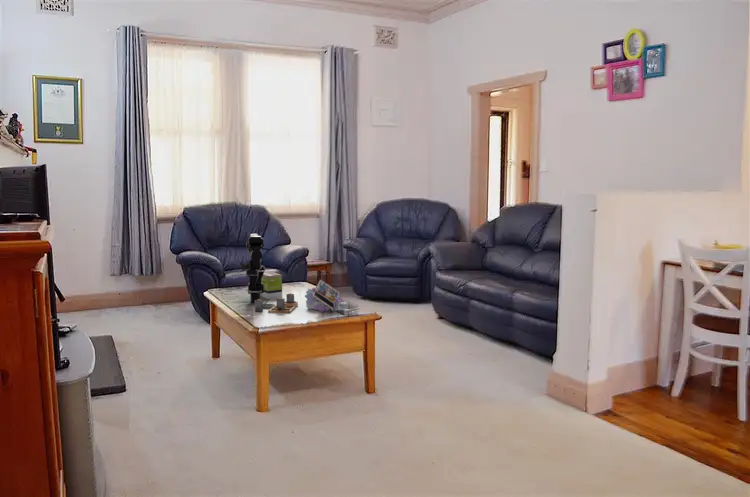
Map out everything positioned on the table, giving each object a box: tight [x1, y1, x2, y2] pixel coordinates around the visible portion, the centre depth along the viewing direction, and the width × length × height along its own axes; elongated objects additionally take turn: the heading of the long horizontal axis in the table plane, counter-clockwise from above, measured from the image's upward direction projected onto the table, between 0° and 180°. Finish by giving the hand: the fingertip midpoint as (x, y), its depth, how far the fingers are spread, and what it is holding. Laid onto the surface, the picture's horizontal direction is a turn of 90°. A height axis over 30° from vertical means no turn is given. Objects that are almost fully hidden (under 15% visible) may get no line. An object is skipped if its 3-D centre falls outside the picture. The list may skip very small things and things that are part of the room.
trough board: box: [268, 304, 296, 314], centre depth 356 cm, size 14×12×2 cm
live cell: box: [276, 297, 286, 311], centre depth 352 cm, size 4×4×8 cm
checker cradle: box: [263, 303, 277, 311], centre depth 363 cm, size 12×10×2 cm
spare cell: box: [254, 298, 264, 313], centre depth 352 cm, size 4×4×8 cm
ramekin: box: [285, 300, 299, 308], centre depth 367 cm, size 8×8×3 cm
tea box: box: [260, 271, 283, 300], centre depth 399 cm, size 15×10×15 cm, turn 37°
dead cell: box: [285, 292, 295, 303], centre depth 367 cm, size 4×4×8 cm
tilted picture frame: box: [304, 279, 342, 313], centre depth 361 cm, size 20×22×18 cm
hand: (256, 285), depth 365 cm, fingers open, 9 cm apart
